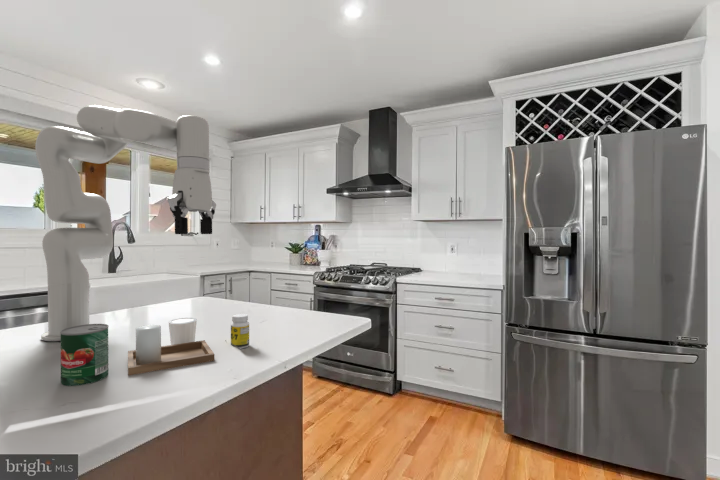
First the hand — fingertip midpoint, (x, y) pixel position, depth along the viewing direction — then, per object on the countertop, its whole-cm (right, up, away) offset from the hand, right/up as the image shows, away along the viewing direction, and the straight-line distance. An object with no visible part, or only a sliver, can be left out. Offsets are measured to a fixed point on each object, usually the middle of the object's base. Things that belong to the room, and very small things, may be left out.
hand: (194, 234), depth 95 cm
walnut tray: (-2, -30, -8) cm, 31 cm away
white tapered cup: (-5, -30, +5) cm, 31 cm away
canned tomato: (-14, -31, -19) cm, 39 cm away
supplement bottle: (+10, -30, +5) cm, 32 cm away
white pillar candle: (-6, -30, -10) cm, 32 cm away
